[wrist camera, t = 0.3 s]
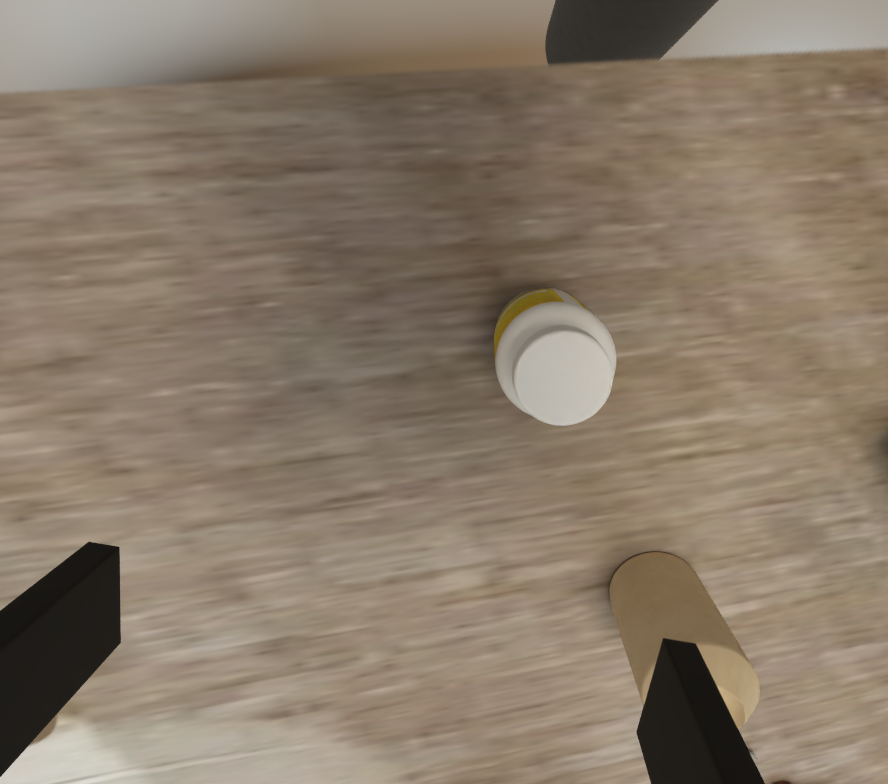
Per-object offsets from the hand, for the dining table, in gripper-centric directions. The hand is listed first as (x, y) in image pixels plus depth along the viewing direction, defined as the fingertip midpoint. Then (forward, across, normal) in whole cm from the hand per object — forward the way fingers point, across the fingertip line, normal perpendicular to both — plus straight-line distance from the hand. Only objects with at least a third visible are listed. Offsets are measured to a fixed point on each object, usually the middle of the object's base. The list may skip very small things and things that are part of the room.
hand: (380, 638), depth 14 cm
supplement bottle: (+21, +5, +4) cm, 22 cm away
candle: (+21, +14, -10) cm, 28 cm away
